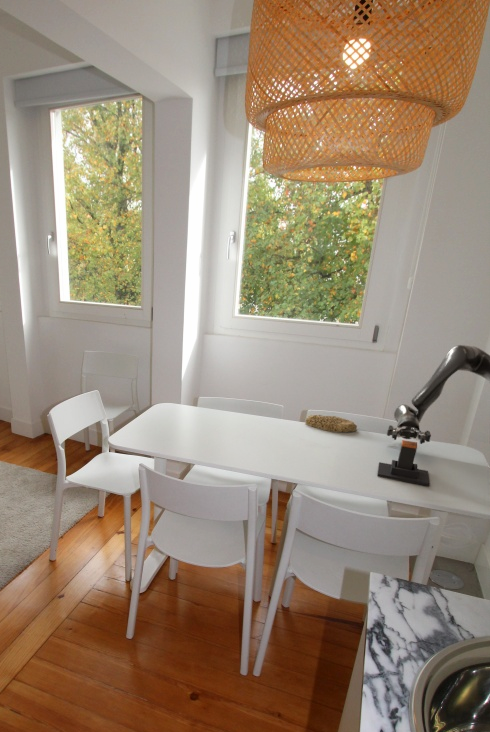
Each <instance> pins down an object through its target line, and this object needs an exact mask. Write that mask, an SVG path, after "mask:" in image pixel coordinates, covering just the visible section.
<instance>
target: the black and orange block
mask: <svg viewBox="0 0 490 732" xmlns="http://www.w3.org/2000/svg"><path fill="white" fill-rule="evenodd" d="M417 449H418V442H416V441H410V440H406V439H405V440H403V439H402V440H401V446H400V450H399V453H398V454H399V455H398V458H397V461H398V462H397V467H396V468H402V469H407V470H412V466H413V464H414V462H415V457H416V453H417Z"/></svg>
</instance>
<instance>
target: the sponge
mask: <svg viewBox="0 0 490 732" xmlns="http://www.w3.org/2000/svg"><path fill="white" fill-rule="evenodd" d="M305 425H306V426H309V427H311V428H316V429H320V430H323V431H326V432H332V433H354V432H357V428H358V425H356V424H355V422H354V421H352V420H349V419H346V418H342V417H339V416H333V415H322V414H310V415H309V416H308V417H307V418H305Z"/></svg>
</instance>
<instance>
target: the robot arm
mask: <svg viewBox="0 0 490 732" xmlns="http://www.w3.org/2000/svg"><path fill="white" fill-rule="evenodd" d="M458 371H461V372H462V371H463V372H469V373H472V374H475V375H477V376H480V377H482V378H484V379H486V380H487V381H488V382H489V383H490V354H489V353H487V352H486V351H484V350H483V349H481V348H480V347H477V346H474V345H465V344H458V345H454V346H453V347H451V348H450V350H449V351H448V352H447V353H446V354H445V356H444V357H443V359H442V361H441V362H440V363H439V365H438V367H437V368H436V369H435V371H434V372H433V374H432V375H431V376H430V379H429V380H428V381H426V383H425V384H424V385H423V386H422V388H421V389H420V390H419V391H418V392H417V393H416V394H415V395H414V396H413V397H412V398H411V404H412V406H413V407H414V408H413V407H411V406H410V405H408V404H400V405H399V406H397V407H396V408H395V409H394V412H393V418H394V420H395V421H396V423H397V425H396V428H395V427H394V426H393V425H391V424H390V425H389V426H388V428H387V432H386V437H387V436H388V437H390V436H391V438H392V439H393V440H395V441H397V438H402V439H405V440H411V439H412V440H415V441H419V444H420V445H423V444H425V442H426V443H429V442H430V441H431V437H432V434H431V432H430V431H429V430H425V431H424V432H423V431H422V430H420V429H421V428H420V423H421V421H422V419H423V417H424V415H425V413H426V412H427V410H428V409H429V408H430V407H431V406H432V405H433V404H434V403H435V402H436V401H437V400H438V399H439V398H440V396H441V394H442V392H443V391H444V388H445V385H446V383H447V381H448V380H449V379H450V378H451V377H452V376H453V375H454V374H455V373H457V372H458Z"/></svg>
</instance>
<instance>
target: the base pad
mask: <svg viewBox="0 0 490 732" xmlns="http://www.w3.org/2000/svg"><path fill="white" fill-rule="evenodd" d="M397 462H398V460H396V459H392V460H391V463H386V462H381V461H380V462H378V467H377V468H378V469H377V477H379V478H383V479H389V480H395V481H400V482H403V483H404V482H405V483H410V484H414V485H420V486H426V487H429V486H430V476H429V470H426V469H420V468H418V463H413V466H412V470H407V469H402V468H396V467H397Z"/></svg>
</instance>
